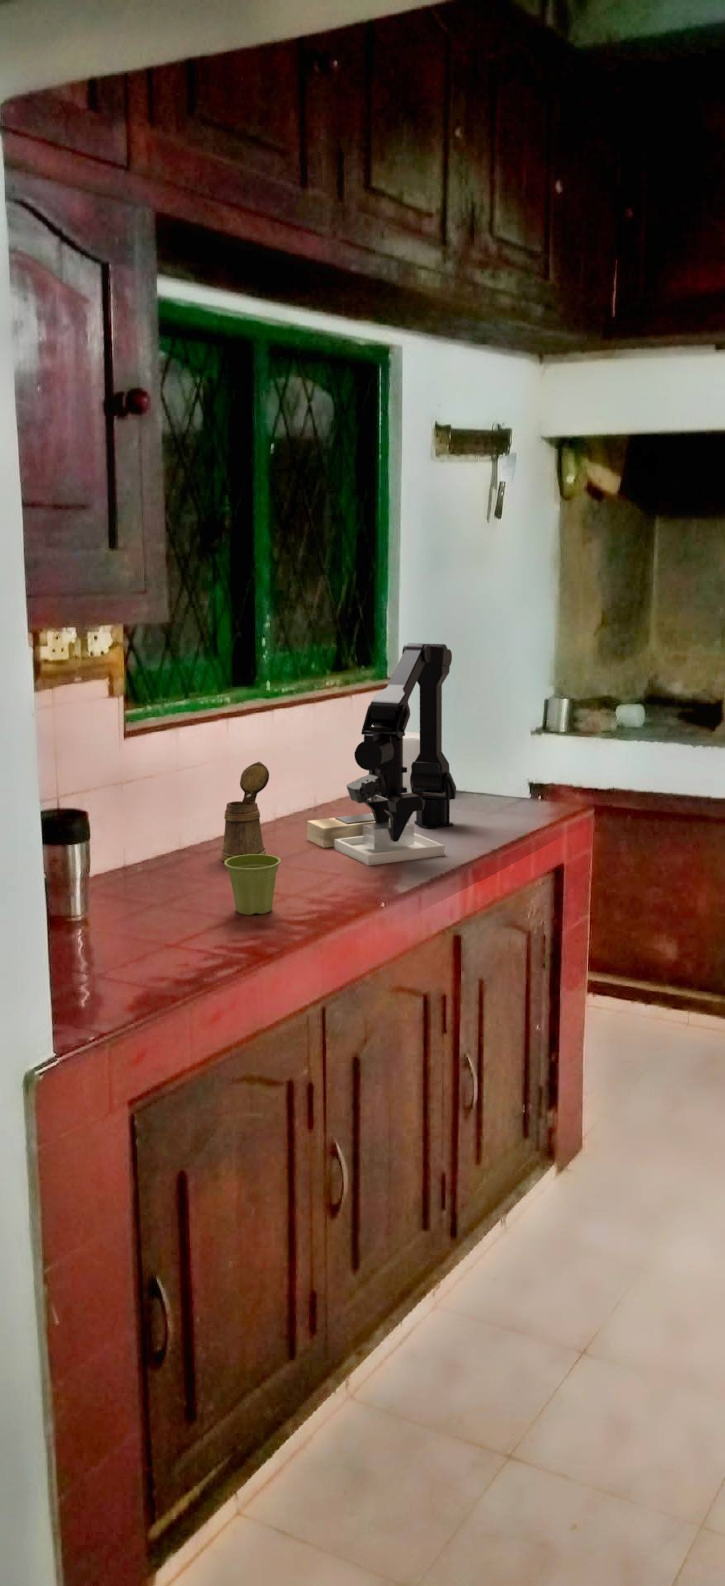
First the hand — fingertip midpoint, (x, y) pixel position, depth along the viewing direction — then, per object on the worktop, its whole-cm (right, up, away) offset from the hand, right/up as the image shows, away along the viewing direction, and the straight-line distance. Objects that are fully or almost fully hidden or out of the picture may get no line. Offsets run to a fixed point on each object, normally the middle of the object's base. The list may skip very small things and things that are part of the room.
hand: (388, 838), depth 249 cm
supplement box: (+7, +8, +56) cm, 57 cm away
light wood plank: (-6, 0, +12) cm, 14 cm away
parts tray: (0, -3, 0) cm, 3 cm away
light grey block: (0, -1, 0) cm, 1 cm away
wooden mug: (-28, -4, -2) cm, 28 cm away
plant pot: (-24, -11, -38) cm, 46 cm away
